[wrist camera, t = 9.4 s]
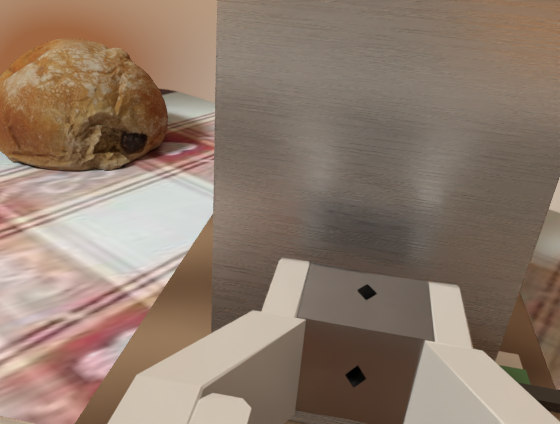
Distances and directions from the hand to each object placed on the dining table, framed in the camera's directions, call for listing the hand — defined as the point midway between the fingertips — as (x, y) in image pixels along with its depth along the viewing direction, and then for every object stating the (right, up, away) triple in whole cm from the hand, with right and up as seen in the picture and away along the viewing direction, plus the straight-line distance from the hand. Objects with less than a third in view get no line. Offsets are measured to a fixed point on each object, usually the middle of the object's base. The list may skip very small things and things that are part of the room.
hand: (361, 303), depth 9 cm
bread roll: (-14, +6, +24) cm, 28 cm away
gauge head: (+2, -2, +6) cm, 7 cm away
